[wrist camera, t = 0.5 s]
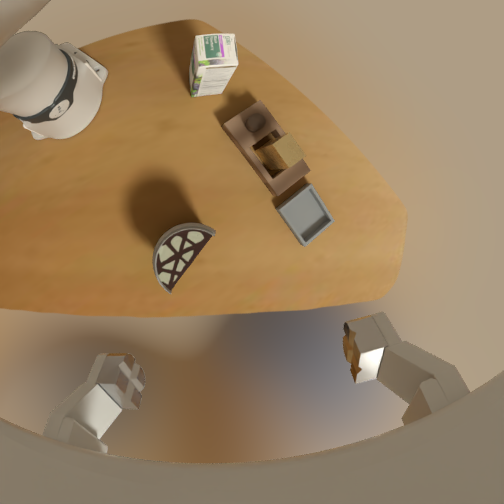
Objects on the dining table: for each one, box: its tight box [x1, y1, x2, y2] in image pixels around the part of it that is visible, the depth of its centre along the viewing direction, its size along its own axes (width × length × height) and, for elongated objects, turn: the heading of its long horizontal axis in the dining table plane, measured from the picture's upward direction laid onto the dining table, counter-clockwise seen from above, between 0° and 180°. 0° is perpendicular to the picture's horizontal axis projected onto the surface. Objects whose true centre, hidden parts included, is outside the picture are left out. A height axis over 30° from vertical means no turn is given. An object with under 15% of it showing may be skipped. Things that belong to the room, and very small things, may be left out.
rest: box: [276, 184, 334, 247], centre depth 52 cm, size 9×8×2 cm
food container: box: [153, 223, 216, 294], centre depth 43 cm, size 12×6×10 cm, turn 140°
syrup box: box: [189, 34, 238, 97], centre depth 35 cm, size 6×6×14 cm
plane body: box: [222, 100, 310, 196], centre depth 45 cm, size 16×8×6 cm, turn 37°
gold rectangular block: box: [255, 132, 306, 170], centre depth 44 cm, size 4×4×10 cm
